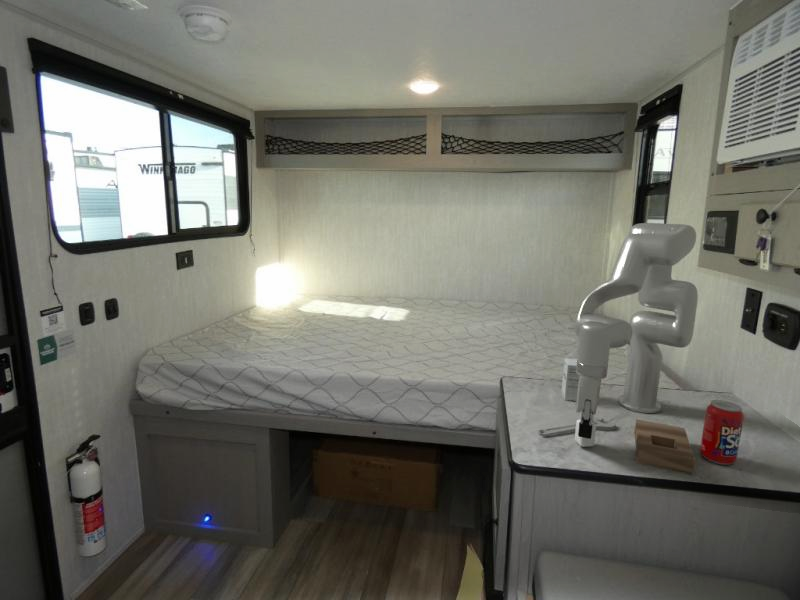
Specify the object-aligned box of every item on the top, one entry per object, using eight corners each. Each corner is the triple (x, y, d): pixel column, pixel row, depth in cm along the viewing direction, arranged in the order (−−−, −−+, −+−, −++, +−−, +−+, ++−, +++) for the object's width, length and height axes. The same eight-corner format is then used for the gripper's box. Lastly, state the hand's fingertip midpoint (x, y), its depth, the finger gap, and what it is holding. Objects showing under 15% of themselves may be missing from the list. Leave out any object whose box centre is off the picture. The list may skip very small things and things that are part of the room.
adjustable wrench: (541, 439, 128) (541, 433, 127) (529, 429, 134) (530, 423, 134) (618, 430, 134) (618, 425, 133) (603, 421, 140) (604, 415, 139)
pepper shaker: (573, 440, 126) (576, 408, 124) (587, 439, 126) (590, 407, 124) (580, 447, 122) (584, 414, 120) (594, 447, 122) (598, 414, 120)
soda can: (699, 448, 124) (708, 396, 121) (735, 457, 120) (744, 403, 117) (698, 460, 118) (707, 406, 115) (736, 470, 113) (746, 414, 110)
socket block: (634, 432, 132) (636, 419, 131) (682, 441, 127) (684, 428, 127) (637, 462, 116) (638, 447, 115) (692, 474, 111) (694, 459, 111)
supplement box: (560, 392, 160) (564, 357, 158) (583, 394, 159) (586, 359, 156) (563, 400, 153) (567, 364, 151) (587, 402, 152) (591, 366, 149)
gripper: (578, 356, 129) (573, 416, 132) (573, 377, 114) (567, 444, 117) (607, 360, 126) (601, 421, 129) (606, 382, 110) (599, 450, 114)
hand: (585, 431), depth 123 cm, fingers closed on pepper shaker, 5 cm apart
